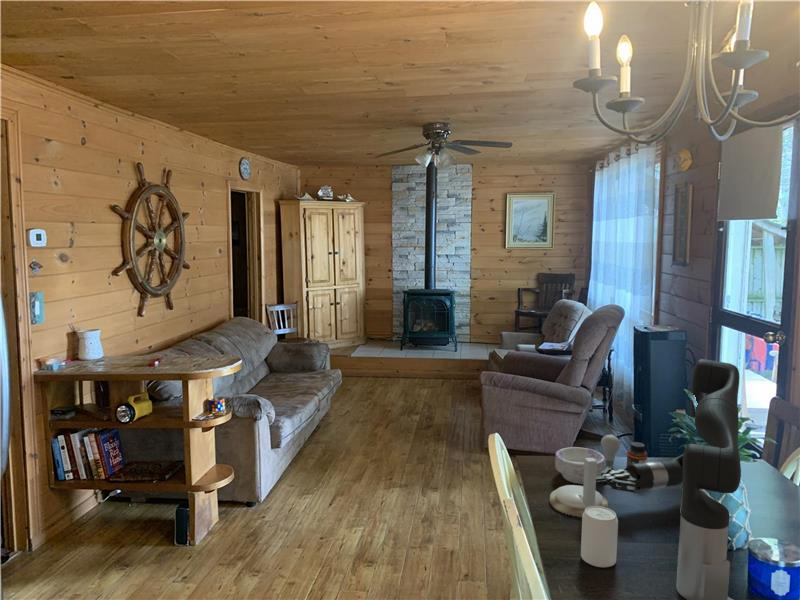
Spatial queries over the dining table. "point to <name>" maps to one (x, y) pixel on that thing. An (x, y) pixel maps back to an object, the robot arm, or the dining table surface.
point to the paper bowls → (577, 463)
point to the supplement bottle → (636, 453)
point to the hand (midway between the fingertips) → (592, 482)
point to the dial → (582, 489)
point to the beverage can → (599, 536)
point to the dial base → (570, 510)
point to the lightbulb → (610, 448)
